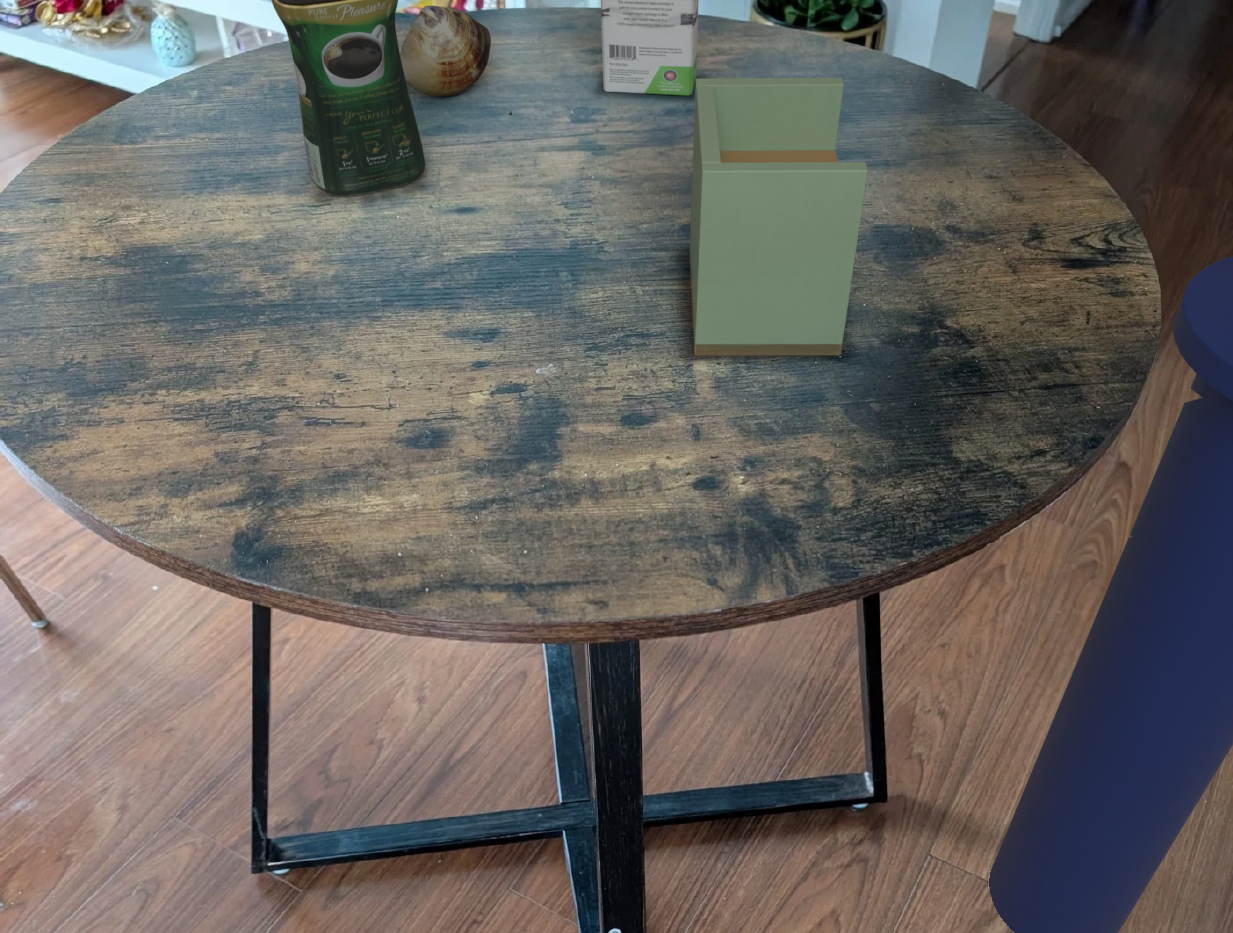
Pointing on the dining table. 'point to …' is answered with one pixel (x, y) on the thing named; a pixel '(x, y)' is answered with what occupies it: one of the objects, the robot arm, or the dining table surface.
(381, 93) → the coffee jar
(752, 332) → the green pencil holder
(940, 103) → the dining table surface
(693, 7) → the ink box
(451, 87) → the seashell
